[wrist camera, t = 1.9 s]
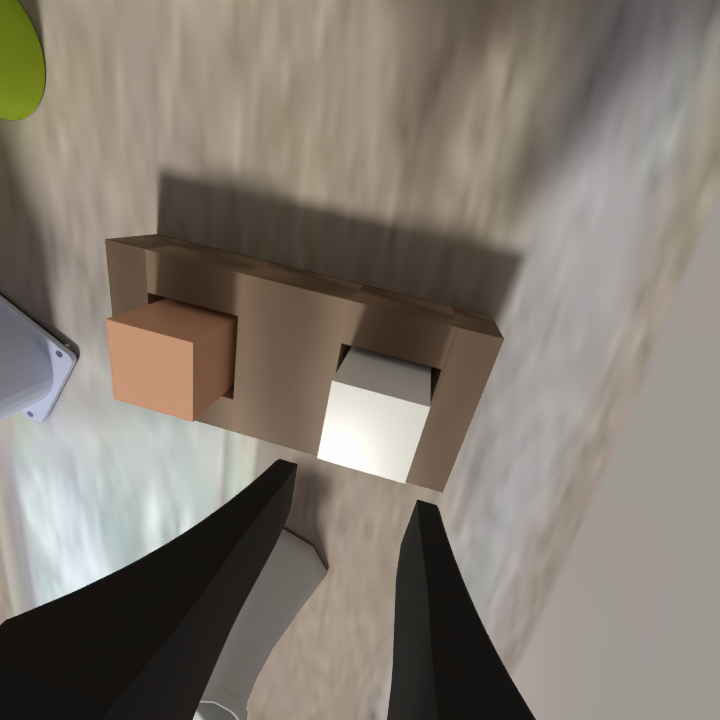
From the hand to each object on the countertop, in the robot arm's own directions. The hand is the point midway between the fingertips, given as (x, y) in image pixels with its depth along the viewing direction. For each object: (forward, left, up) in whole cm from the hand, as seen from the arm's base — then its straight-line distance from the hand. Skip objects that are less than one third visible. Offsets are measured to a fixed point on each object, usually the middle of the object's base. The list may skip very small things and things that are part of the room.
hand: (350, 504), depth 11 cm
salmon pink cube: (-9, -5, -8) cm, 13 cm away
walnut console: (-4, -3, -10) cm, 12 cm away
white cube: (0, 0, -8) cm, 8 cm away
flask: (+6, -19, -11) cm, 22 cm away
